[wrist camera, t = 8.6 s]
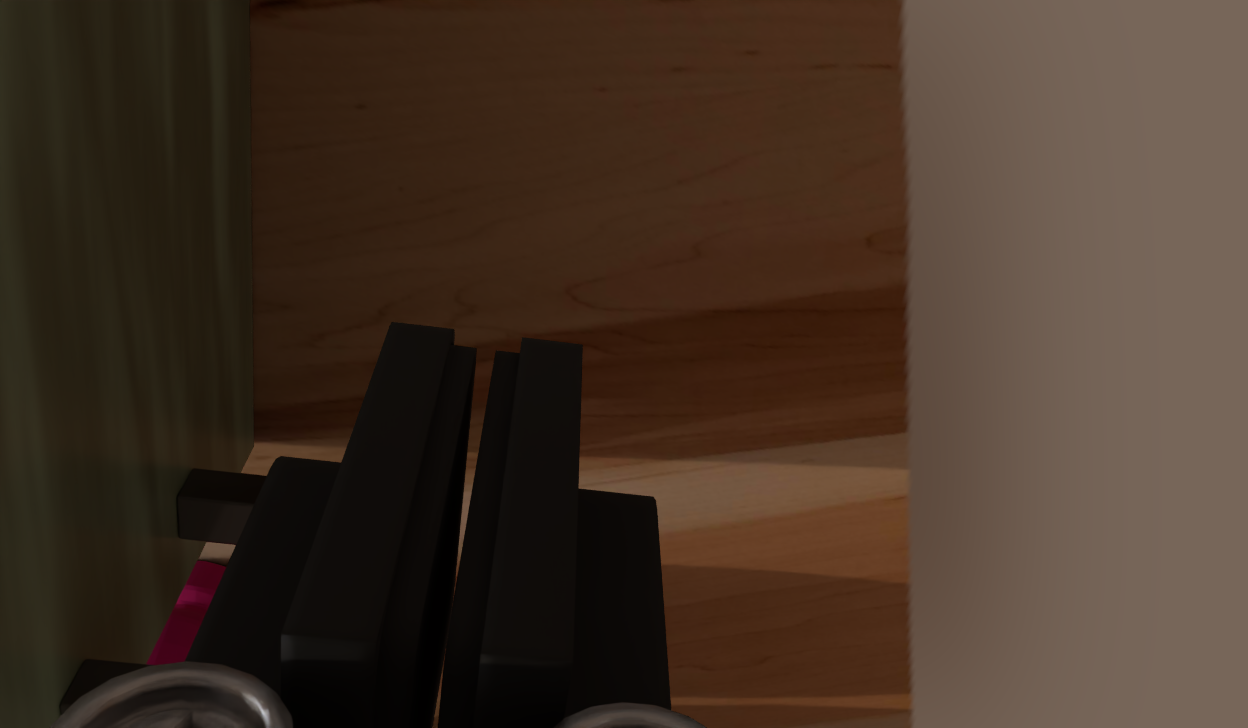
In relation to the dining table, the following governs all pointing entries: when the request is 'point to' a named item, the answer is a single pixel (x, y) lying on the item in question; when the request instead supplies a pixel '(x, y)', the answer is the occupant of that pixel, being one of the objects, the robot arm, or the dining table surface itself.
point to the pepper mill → (187, 614)
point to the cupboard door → (118, 329)
